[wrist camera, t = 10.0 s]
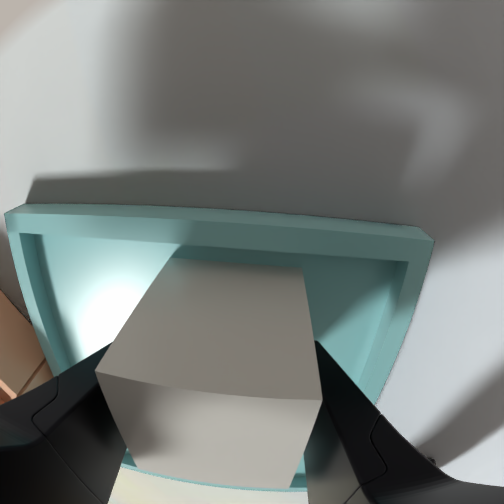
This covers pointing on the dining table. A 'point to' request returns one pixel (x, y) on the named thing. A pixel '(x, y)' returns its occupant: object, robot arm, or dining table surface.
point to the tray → (223, 250)
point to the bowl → (19, 354)
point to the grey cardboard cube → (216, 374)
